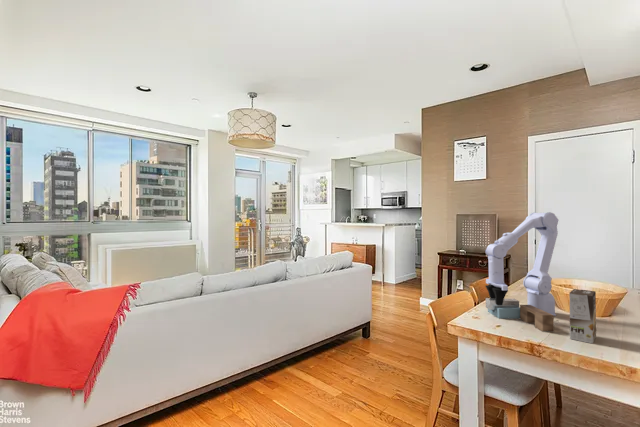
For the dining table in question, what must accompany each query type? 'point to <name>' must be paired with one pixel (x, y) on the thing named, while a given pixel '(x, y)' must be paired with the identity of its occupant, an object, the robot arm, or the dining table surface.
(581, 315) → the coffee box
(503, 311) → the v block
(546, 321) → the brown bridge block
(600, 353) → the dining table surface
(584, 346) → the dining table surface
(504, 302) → the grey rectangular bar
